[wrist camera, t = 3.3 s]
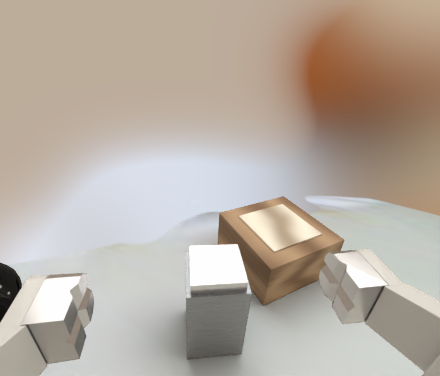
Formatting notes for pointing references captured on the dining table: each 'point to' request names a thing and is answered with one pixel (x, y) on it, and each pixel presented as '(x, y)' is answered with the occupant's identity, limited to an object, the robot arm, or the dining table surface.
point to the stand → (278, 246)
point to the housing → (216, 301)
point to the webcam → (8, 288)
